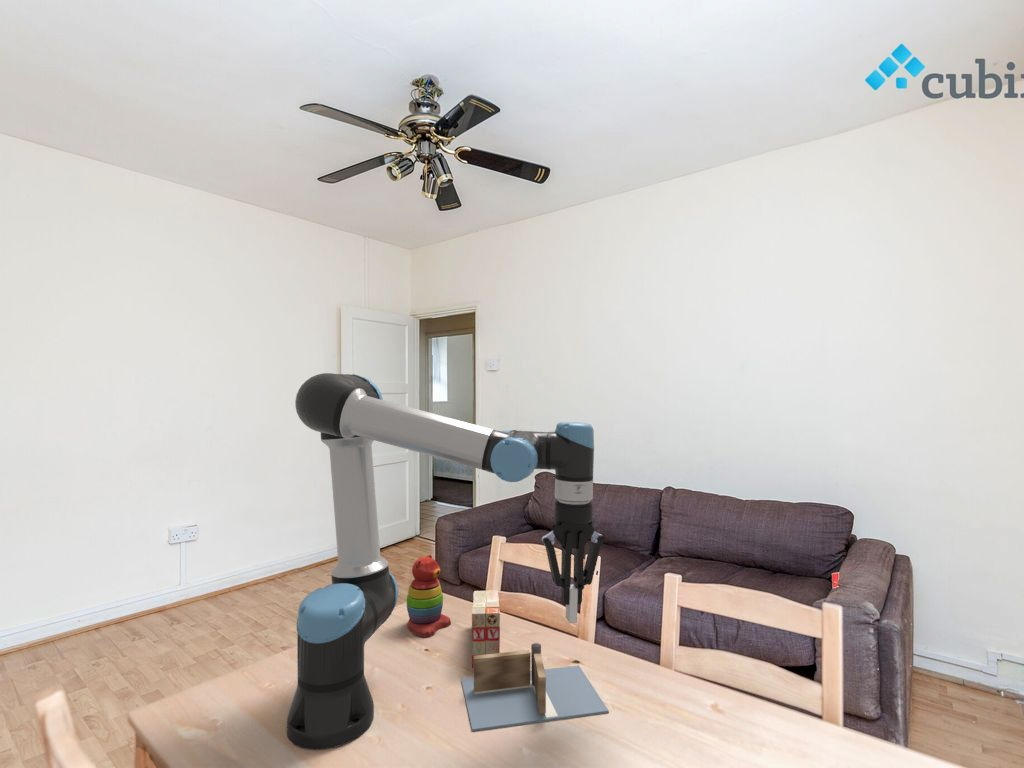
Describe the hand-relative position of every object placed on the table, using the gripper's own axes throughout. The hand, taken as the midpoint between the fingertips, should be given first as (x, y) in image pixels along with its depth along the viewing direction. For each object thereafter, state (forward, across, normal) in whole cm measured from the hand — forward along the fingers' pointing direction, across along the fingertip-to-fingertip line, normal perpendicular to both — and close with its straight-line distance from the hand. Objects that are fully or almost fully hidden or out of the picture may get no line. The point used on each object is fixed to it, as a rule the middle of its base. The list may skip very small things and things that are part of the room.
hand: (571, 619), depth 105 cm
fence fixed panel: (+16, -11, +6) cm, 20 cm away
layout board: (+16, -7, +3) cm, 18 cm away
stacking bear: (+17, -26, +39) cm, 50 cm away
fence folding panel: (+15, -6, 0) cm, 16 cm away
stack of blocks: (+17, -13, +26) cm, 33 cm away
